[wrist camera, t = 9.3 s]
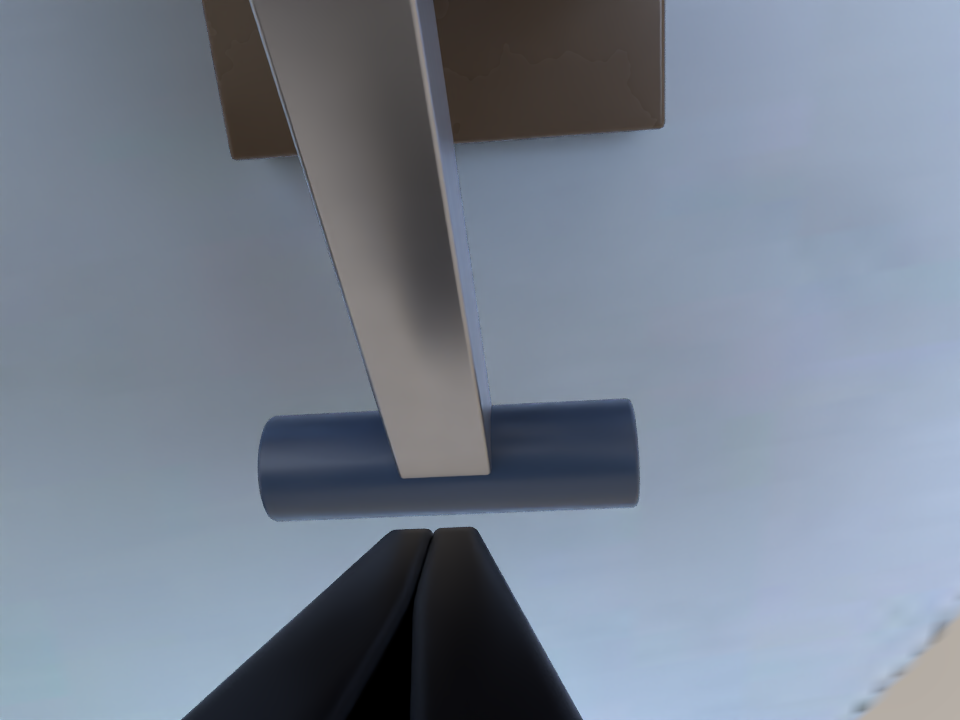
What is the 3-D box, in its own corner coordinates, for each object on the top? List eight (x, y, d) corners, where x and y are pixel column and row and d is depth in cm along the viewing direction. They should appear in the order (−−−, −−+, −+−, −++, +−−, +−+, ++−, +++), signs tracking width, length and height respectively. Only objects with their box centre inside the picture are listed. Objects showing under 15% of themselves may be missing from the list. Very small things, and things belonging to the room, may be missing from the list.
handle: (622, 405, 12) (642, 567, 10) (301, 421, 12) (273, 579, 11) (709, -1289, 3) (891, -1792, 2) (-356, -1074, 4) (-947, -1344, 2)
